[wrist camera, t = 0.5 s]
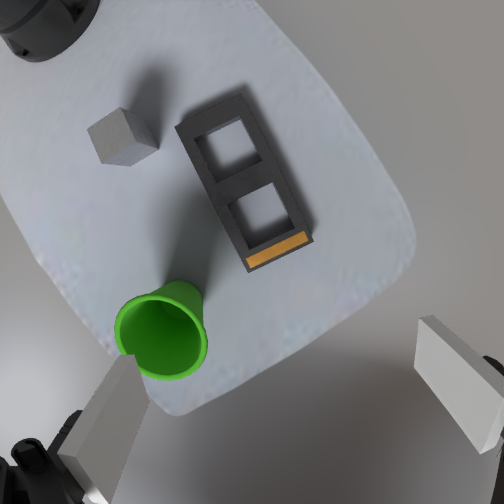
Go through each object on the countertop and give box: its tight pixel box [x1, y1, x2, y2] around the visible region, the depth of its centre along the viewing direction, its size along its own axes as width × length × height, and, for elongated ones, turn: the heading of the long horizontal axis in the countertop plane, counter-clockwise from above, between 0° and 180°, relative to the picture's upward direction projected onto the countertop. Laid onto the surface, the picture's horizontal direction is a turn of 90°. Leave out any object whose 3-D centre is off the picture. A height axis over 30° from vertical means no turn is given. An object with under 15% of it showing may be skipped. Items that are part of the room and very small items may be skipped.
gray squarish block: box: [87, 107, 159, 166], centre depth 31 cm, size 4×4×8 cm
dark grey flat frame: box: [175, 94, 314, 273], centre depth 35 cm, size 18×8×2 cm, turn 26°
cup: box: [114, 280, 208, 381], centre depth 33 cm, size 9×9×11 cm
